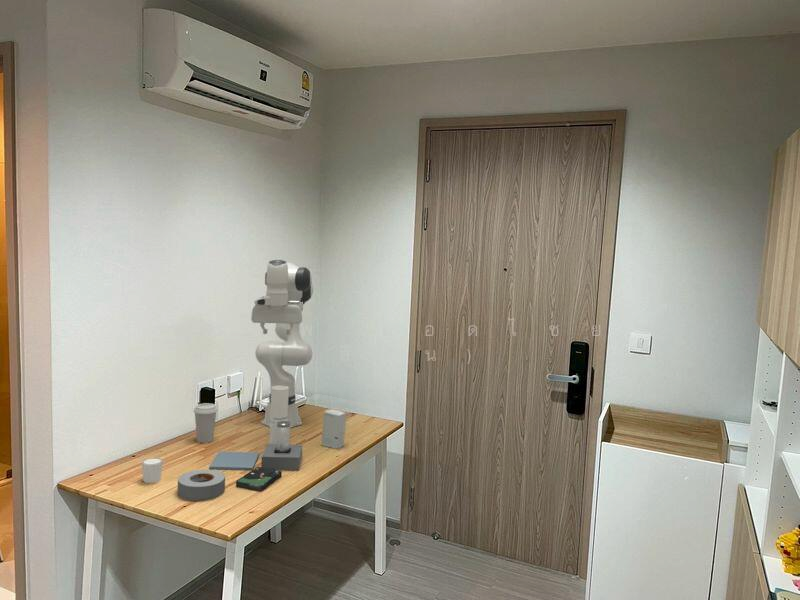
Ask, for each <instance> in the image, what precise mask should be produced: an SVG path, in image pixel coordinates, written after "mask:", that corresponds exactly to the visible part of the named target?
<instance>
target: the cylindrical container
mask: <svg viewBox="0 0 800 600" xmlns="http://www.w3.org/2000/svg"><path fill="white" fill-rule="evenodd" d="M270 394H271V411H270V427H269V443H268V444H276V440H277V422H280V421H288V396H289V387H288V386H283V385H277V386H272V387H271V386H270Z"/></svg>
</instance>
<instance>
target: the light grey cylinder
mask: <svg viewBox="0 0 800 600" xmlns="http://www.w3.org/2000/svg"><path fill="white" fill-rule="evenodd" d="M163 463H164V461H163V459H161V458H158V457H151V458H146V459H144V460H142V462H141V469H142V470H141V471H142V480H143V481H144V482H145V483H144V482H143V481H142V482H143V483H144V484H147V483H153V484H156V483H155V482H157V483H159V482H161V480H162V471H163ZM158 481H159V482H158Z"/></svg>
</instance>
